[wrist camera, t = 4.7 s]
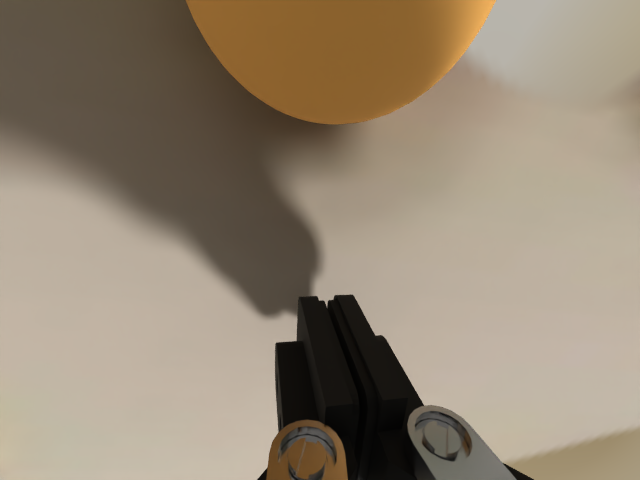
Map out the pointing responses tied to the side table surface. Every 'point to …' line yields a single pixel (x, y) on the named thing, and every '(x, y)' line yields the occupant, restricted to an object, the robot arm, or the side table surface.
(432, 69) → the ball
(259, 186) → the side table surface
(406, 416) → the robot arm
